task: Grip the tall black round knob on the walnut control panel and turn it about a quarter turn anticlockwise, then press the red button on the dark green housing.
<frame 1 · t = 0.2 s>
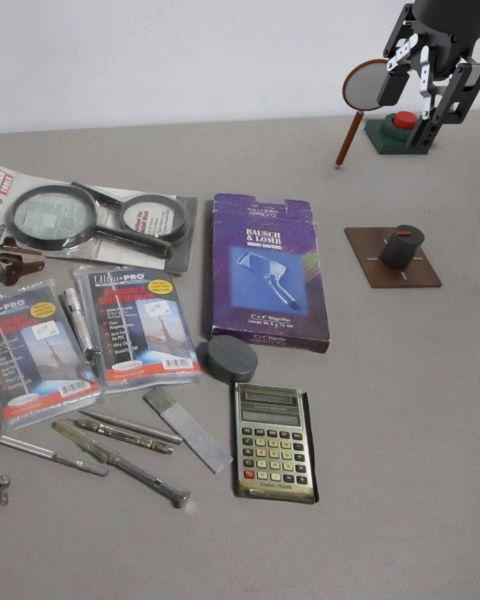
hand: (399, 125, 65), 27 cm above the table, tool pointing down, fingers open, 8 cm apart
knob: (402, 246, 85), point 5 cm above the table, hinge at 0.0°
magnifying glass: (336, 168, 105), on the table
panel: (385, 266, 89), on the table
button: (405, 120, 107), point 4 cm above the table, slide at 0.1 cm
button box: (394, 141, 111), on the table
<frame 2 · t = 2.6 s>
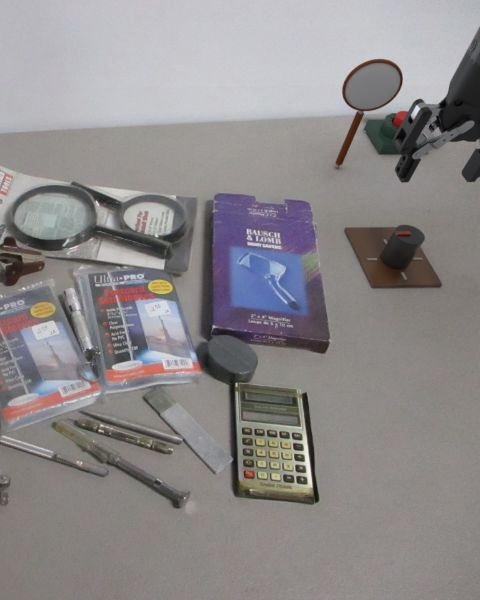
hand: (434, 178, 75), 17 cm above the table, tool pointing down, fingers open, 8 cm apart
nothing on the table moved.
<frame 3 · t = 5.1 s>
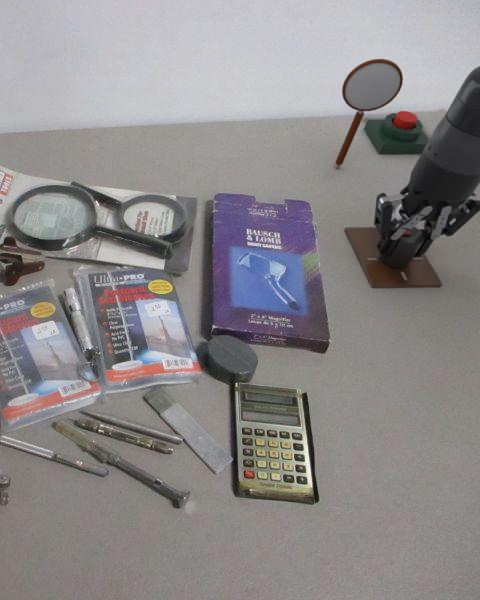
hand: (398, 252, 86), 4 cm above the table, tool pointing down, fingers closed on knob, 4 cm apart
knob: (402, 246, 85), point 5 cm above the table, hinge at 0.0°, touching gripper
everything else where it was.
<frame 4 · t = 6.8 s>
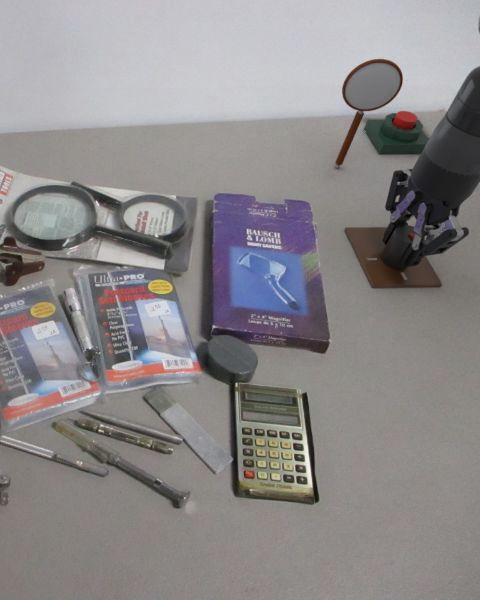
hand: (397, 252, 86), 4 cm above the table, tool pointing down, fingers closed on knob, 4 cm apart
knob: (402, 246, 85), point 5 cm above the table, hinge at 101.8°, touching gripper
everything else where it was.
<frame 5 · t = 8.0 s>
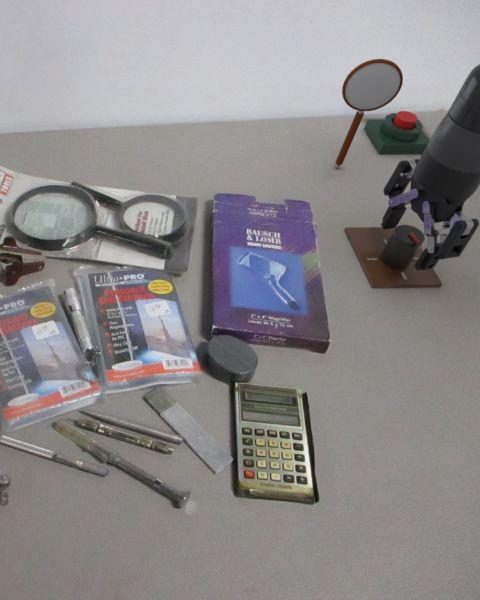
hand: (404, 246, 85), 5 cm above the table, tool pointing down, fingers open, 8 cm apart
knob: (402, 246, 85), point 5 cm above the table, hinge at 101.1°
everything else where it was.
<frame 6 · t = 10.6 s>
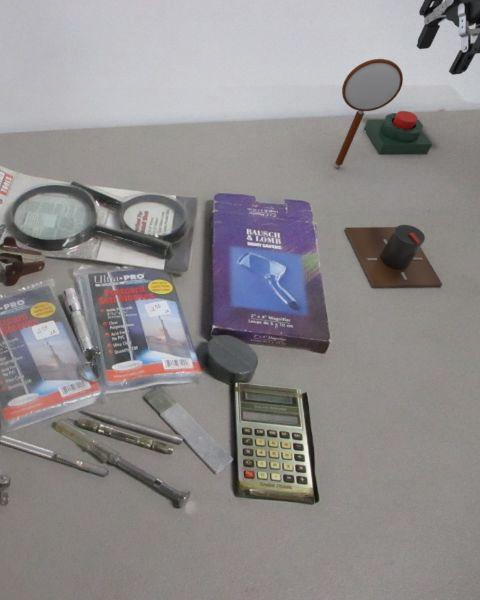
hand: (438, 60, 96), 17 cm above the table, tool pointing down, fingers open, 8 cm apart
nothing on the table moved.
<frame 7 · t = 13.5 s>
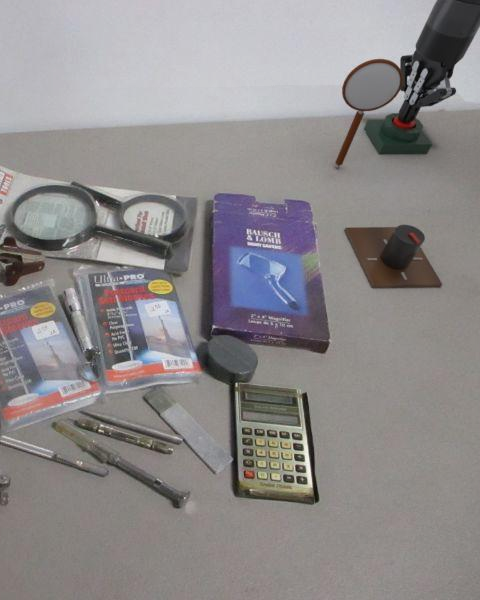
hand: (404, 120, 107), 4 cm above the table, tool pointing down, fingers closed
button: (402, 124, 108), point 4 cm above the table, slide at -0.8 cm, touching gripper
everything else where it was.
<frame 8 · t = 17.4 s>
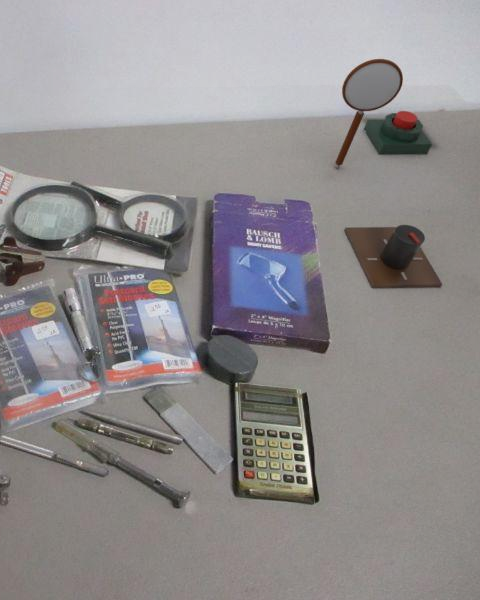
button: (405, 120, 107), point 4 cm above the table, slide at 0.1 cm
everything else where it was.
at the end: knob at +101° (first picture: +0°); button pushed in 1.1 cm at the most during the clip, back to where it started at the end; button slide at 0.1 cm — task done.
